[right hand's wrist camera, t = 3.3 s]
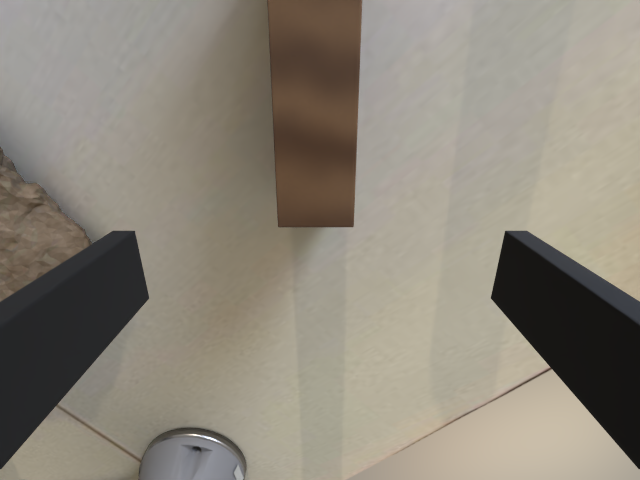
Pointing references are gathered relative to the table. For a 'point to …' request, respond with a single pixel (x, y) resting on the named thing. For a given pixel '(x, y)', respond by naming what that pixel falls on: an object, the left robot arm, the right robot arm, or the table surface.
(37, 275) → the stone
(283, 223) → the box
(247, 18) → the table surface
